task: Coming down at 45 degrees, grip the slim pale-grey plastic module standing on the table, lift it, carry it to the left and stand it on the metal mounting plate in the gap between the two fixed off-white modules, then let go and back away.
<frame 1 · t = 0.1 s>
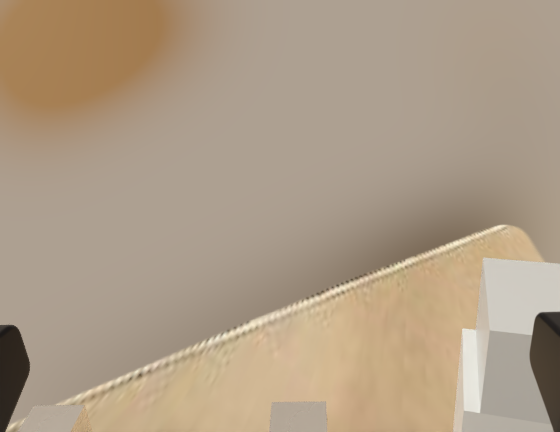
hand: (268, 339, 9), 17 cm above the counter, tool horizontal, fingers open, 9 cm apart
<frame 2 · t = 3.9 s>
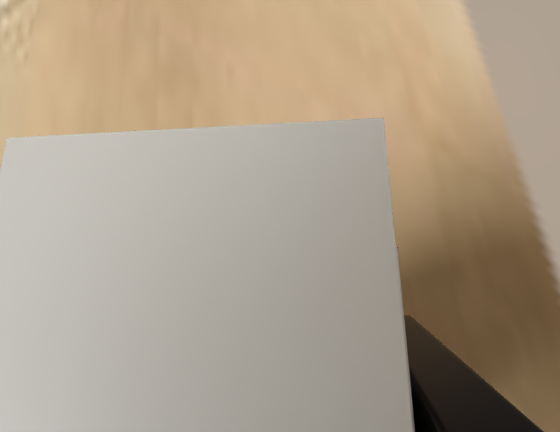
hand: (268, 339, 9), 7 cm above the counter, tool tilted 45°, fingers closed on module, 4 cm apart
module: (293, 422, 15), on the counter, touching gripper
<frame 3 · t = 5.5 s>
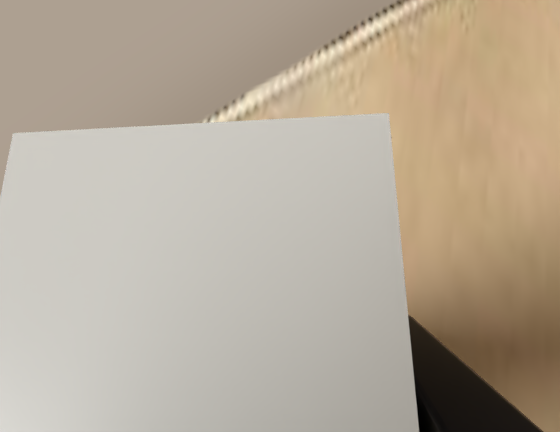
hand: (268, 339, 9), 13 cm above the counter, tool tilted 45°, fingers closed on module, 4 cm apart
module: (295, 421, 15), point 7 cm above the counter, touching gripper
when the fingers open (8 cm above the counter, at t = 7.3 s): module stays where it is, resting on mounting plate.
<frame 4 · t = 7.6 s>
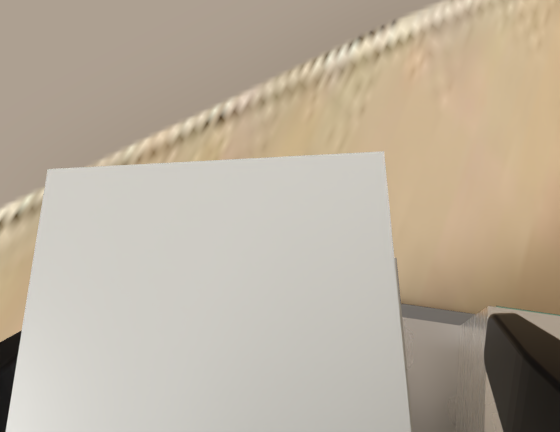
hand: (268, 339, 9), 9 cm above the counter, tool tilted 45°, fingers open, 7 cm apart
module: (296, 422, 15), point 1 cm above the counter, touching mounting plate
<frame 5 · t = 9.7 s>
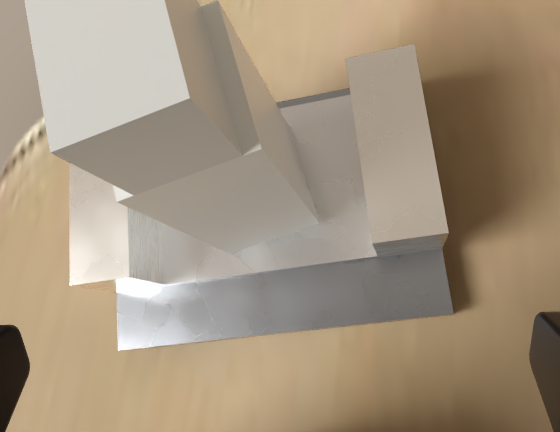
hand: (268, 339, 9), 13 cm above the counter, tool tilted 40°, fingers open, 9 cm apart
mounting plate: (269, 219, 23), on the counter
module: (259, 189, 22), point 1 cm above the counter, touching mounting plate
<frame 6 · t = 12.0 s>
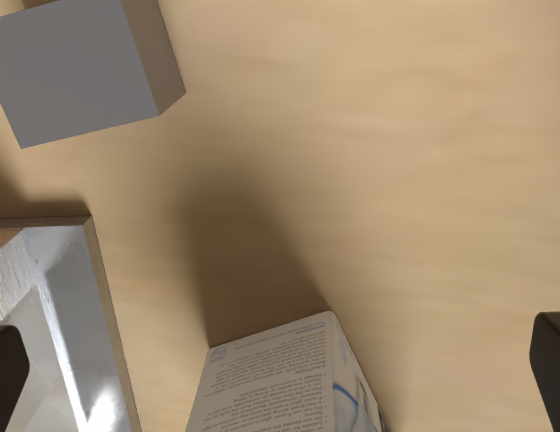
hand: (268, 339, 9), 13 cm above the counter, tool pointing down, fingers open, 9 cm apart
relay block: (109, 56, 20), on the counter
mounting plate: (24, 347, 26), on the counter
light bulb box: (309, 403, 27), on the counter
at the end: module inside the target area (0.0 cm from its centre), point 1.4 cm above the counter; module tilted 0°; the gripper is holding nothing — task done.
